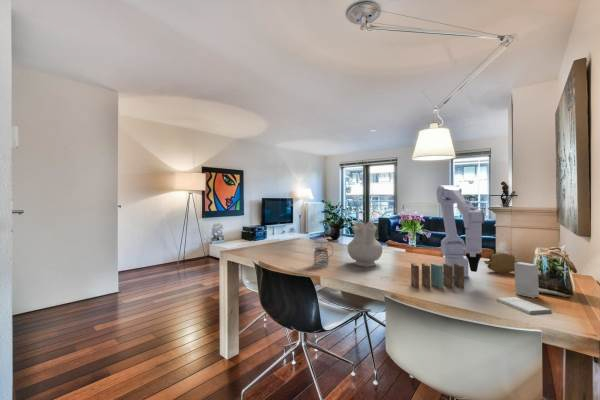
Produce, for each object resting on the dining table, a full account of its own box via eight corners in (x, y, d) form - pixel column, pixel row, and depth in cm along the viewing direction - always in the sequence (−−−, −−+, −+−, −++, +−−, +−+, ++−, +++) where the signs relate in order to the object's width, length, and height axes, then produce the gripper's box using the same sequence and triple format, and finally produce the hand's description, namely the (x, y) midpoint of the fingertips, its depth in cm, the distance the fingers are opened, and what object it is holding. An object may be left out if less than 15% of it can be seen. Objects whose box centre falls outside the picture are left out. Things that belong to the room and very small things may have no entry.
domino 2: (425, 284, 121) (425, 263, 121) (430, 287, 116) (429, 266, 116) (421, 284, 121) (421, 263, 121) (426, 287, 116) (426, 265, 116)
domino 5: (457, 284, 120) (457, 263, 120) (463, 288, 115) (463, 266, 115) (454, 284, 120) (454, 263, 120) (459, 288, 115) (459, 266, 115)
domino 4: (447, 284, 121) (447, 263, 121) (452, 288, 116) (452, 266, 116) (443, 284, 121) (443, 263, 121) (448, 288, 116) (448, 266, 116)
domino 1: (414, 283, 122) (414, 263, 122) (419, 287, 117) (418, 265, 117) (411, 283, 122) (411, 263, 122) (415, 287, 117) (414, 265, 117)
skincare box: (539, 297, 105) (539, 264, 105) (533, 298, 103) (532, 265, 103) (520, 292, 110) (520, 261, 110) (514, 293, 108) (513, 262, 108)
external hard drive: (529, 316, 89) (496, 302, 101) (551, 314, 90) (516, 300, 102) (529, 310, 89) (496, 297, 101) (551, 309, 90) (516, 296, 102)
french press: (313, 263, 162) (313, 220, 162) (333, 264, 160) (333, 220, 160) (311, 267, 152) (311, 221, 152) (333, 268, 150) (332, 221, 150)
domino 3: (434, 284, 121) (433, 263, 121) (442, 287, 116) (442, 265, 116) (430, 284, 121) (430, 263, 121) (439, 287, 116) (439, 266, 116)
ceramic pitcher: (386, 271, 147) (390, 224, 147) (349, 268, 147) (353, 221, 148) (376, 262, 169) (379, 221, 169) (344, 260, 169) (347, 219, 169)
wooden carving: (518, 272, 141) (518, 252, 141) (523, 274, 136) (523, 254, 136) (482, 270, 143) (482, 251, 143) (486, 273, 139) (486, 253, 139)
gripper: (463, 236, 126) (464, 266, 126) (461, 240, 114) (461, 273, 114) (482, 237, 122) (482, 268, 122) (481, 241, 110) (481, 276, 110)
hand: (473, 271), depth 117 cm, fingers closed
